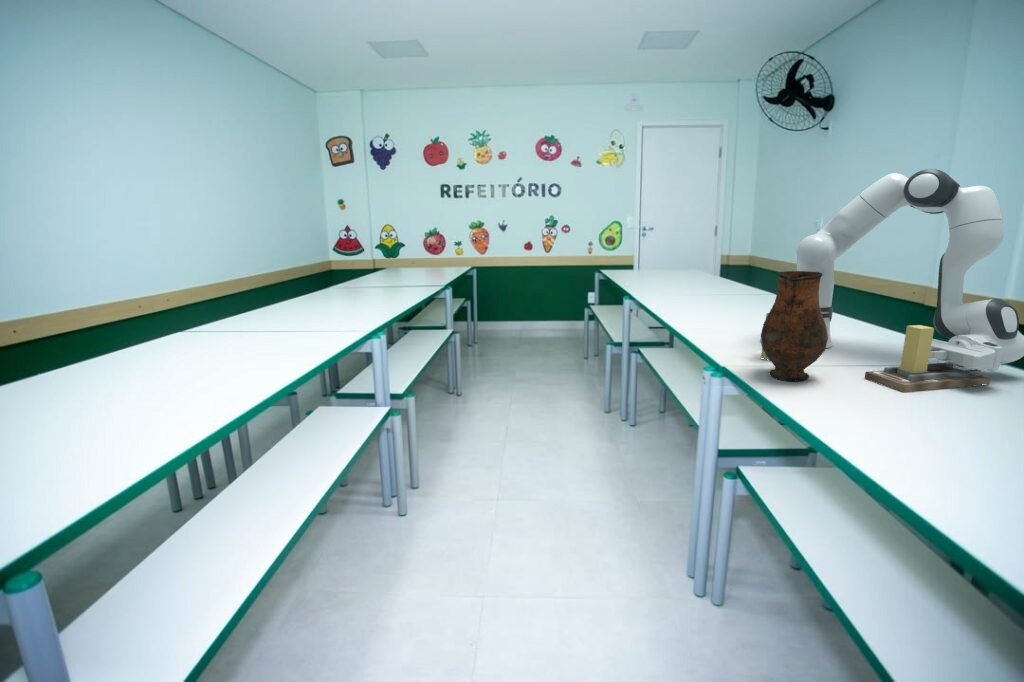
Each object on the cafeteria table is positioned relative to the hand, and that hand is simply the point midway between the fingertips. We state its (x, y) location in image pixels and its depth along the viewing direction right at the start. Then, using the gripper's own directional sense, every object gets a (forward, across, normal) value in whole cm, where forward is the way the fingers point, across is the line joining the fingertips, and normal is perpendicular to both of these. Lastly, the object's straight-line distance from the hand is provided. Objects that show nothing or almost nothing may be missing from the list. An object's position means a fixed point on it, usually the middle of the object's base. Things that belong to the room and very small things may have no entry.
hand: (922, 354), depth 134 cm
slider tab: (+2, 0, +6) cm, 6 cm away
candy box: (+21, -31, +8) cm, 38 cm away
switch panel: (-2, 0, +8) cm, 8 cm away
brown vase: (+28, -14, +8) cm, 32 cm away
